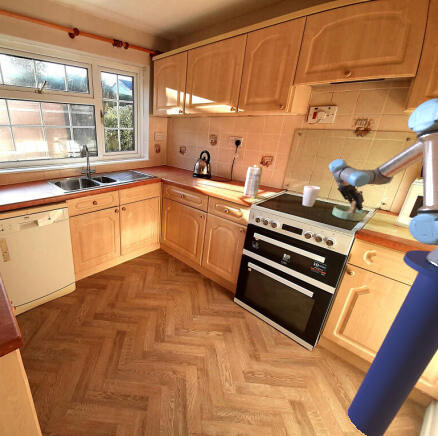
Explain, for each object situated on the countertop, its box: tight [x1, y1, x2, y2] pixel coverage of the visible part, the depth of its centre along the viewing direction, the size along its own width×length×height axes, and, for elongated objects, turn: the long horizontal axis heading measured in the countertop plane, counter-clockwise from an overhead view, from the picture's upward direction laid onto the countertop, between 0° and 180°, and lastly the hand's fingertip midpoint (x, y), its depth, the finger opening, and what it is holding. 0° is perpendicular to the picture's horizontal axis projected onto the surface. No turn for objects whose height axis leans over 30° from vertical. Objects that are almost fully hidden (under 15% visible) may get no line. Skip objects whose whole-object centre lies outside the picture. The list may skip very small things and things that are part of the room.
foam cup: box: [301, 185, 322, 208], centre depth 168 cm, size 10×9×13 cm
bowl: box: [331, 204, 367, 222], centre depth 149 cm, size 15×16×5 cm
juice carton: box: [243, 164, 263, 199], centre depth 183 cm, size 9×8×24 cm
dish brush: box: [346, 199, 358, 213], centre depth 146 cm, size 6×4×15 cm, turn 103°
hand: (358, 208), depth 148 cm, fingers closed on dish brush, 2 cm apart
